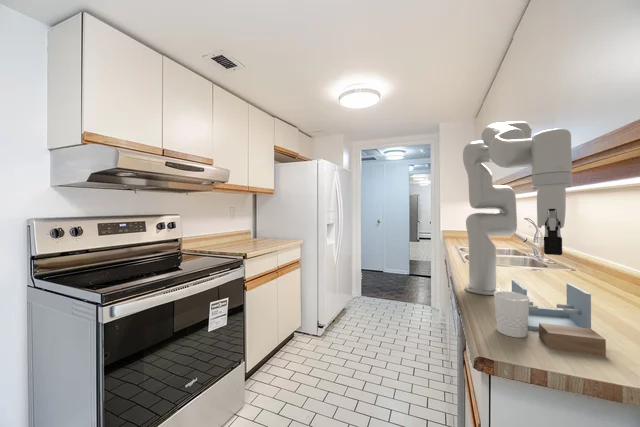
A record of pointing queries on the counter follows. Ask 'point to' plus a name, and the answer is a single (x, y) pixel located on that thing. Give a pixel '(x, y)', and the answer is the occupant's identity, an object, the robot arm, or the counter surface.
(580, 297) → the shelf unit
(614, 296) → the counter surface
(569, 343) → the brown box
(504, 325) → the white cup
